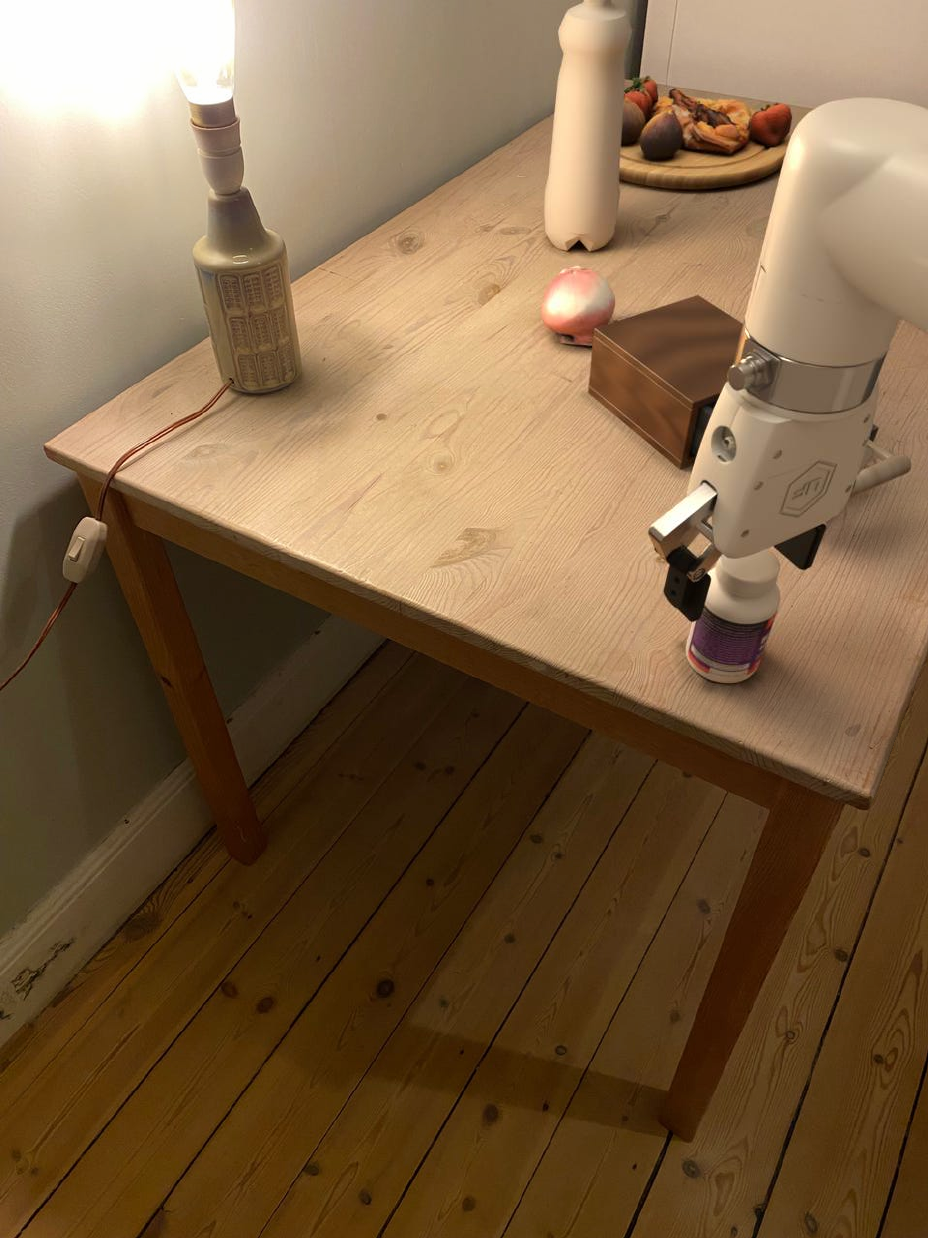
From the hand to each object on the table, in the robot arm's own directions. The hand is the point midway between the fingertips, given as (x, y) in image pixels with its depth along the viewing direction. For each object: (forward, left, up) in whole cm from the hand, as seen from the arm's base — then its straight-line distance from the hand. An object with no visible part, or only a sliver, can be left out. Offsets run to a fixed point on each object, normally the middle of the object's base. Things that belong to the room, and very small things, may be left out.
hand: (737, 581), depth 62 cm
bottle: (+34, -61, -8) cm, 70 cm away
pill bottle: (0, 0, -8) cm, 8 cm away
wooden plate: (+31, -95, -8) cm, 100 cm away
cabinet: (+11, -30, -8) cm, 33 cm away
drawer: (0, -22, -7) cm, 23 cm away
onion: (+26, -39, -8) cm, 47 cm away
